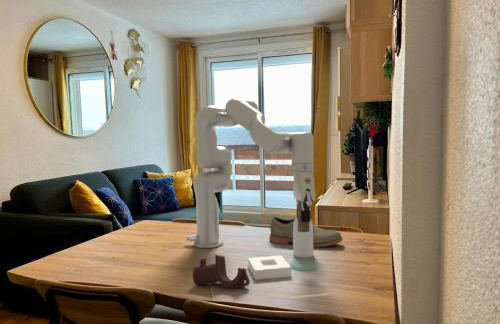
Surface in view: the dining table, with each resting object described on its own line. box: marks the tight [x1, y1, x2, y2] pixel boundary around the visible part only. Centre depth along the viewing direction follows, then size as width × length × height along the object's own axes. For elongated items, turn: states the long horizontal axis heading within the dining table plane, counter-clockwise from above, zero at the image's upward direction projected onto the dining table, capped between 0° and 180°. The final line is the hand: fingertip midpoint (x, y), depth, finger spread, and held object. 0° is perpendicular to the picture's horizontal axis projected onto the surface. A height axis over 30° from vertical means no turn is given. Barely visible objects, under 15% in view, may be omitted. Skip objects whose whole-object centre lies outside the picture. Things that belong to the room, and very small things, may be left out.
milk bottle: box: [292, 215, 314, 259], centre depth 135 cm, size 8×8×20 cm
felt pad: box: [289, 260, 319, 272], centre depth 124 cm, size 10×10×1 cm
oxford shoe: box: [268, 216, 344, 248], centre depth 151 cm, size 11×32×12 cm, turn 74°
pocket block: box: [247, 255, 292, 280], centre depth 119 cm, size 12×12×4 cm
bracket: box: [192, 254, 251, 289], centre depth 109 cm, size 6×17×10 cm, turn 77°
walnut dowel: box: [296, 200, 309, 232], centre depth 122 cm, size 4×4×11 cm
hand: (303, 219), depth 122 cm, fingers closed on walnut dowel, 4 cm apart
